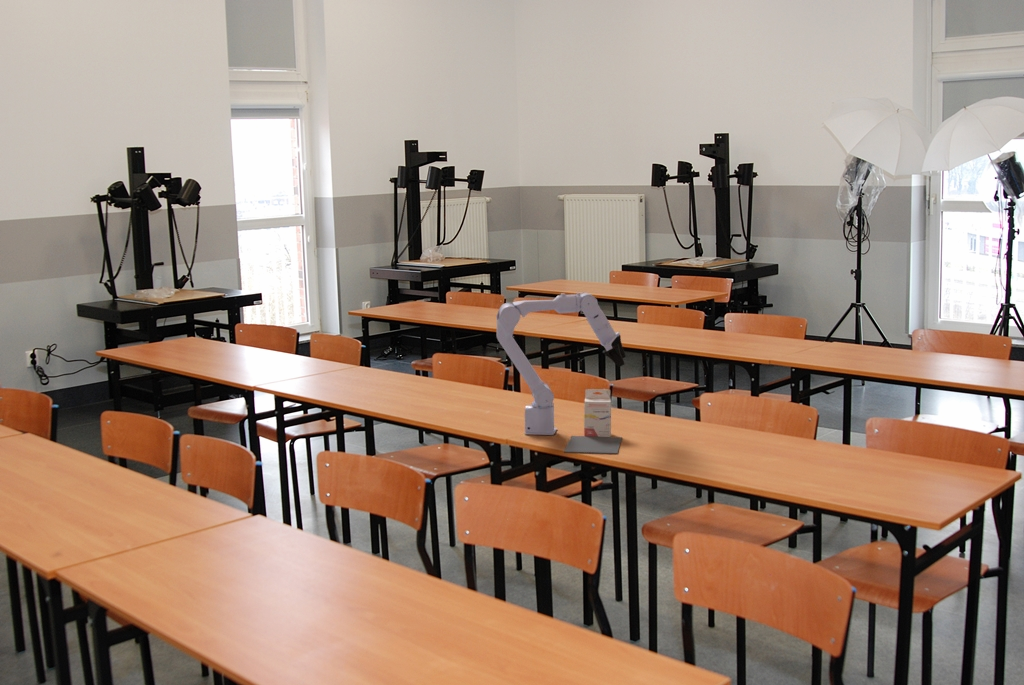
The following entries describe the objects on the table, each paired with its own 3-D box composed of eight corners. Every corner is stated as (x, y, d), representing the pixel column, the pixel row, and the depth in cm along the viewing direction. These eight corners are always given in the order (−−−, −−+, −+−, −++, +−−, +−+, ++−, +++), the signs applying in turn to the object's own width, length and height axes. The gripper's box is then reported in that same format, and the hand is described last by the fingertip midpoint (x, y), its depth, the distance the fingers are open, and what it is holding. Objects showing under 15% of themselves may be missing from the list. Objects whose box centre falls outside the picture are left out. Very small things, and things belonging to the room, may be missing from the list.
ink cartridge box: (584, 437, 313) (583, 392, 311) (584, 433, 318) (584, 388, 316) (611, 437, 312) (611, 392, 310) (611, 433, 317) (611, 388, 315)
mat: (564, 452, 296) (564, 451, 296) (571, 437, 314) (571, 435, 314) (617, 454, 293) (617, 452, 293) (622, 438, 311) (622, 437, 311)
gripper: (610, 327, 308) (632, 363, 311) (613, 314, 322) (634, 349, 324) (591, 337, 310) (612, 373, 313) (594, 324, 324) (615, 358, 326)
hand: (622, 361), depth 319 cm, fingers open, 7 cm apart
